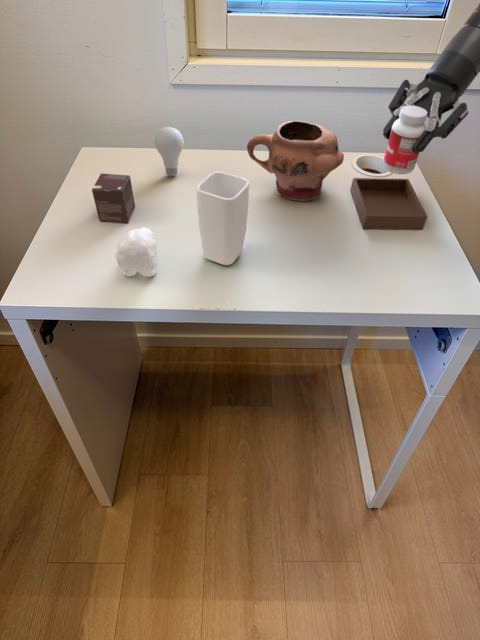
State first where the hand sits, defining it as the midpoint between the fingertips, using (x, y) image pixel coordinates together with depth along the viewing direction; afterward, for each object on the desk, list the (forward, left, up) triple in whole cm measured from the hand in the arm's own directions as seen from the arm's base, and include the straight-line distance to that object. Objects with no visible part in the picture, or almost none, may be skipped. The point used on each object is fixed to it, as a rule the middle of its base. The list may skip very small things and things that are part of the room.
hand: (399, 144), depth 87 cm
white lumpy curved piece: (+30, +41, -15) cm, 53 cm away
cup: (+19, +31, -15) cm, 39 cm away
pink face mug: (+19, +4, -15) cm, 25 cm away
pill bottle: (-1, -2, -6) cm, 6 cm away
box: (+44, +32, -15) cm, 57 cm away
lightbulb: (+44, +14, -15) cm, 49 cm away
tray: (-1, -1, -15) cm, 15 cm away
